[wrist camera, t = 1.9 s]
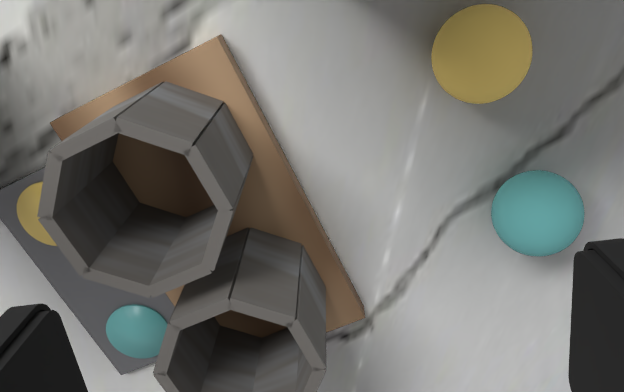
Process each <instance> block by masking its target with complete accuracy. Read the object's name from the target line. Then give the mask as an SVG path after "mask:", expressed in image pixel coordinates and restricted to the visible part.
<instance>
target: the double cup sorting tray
mask: <svg viewBox="0 0 624 392" xmlns="http://www.w3.org/2000/svg"><path fill="white" fill-rule="evenodd" d="M50 124H51V126H52V127H53V129H54V130H55V132H56V133H57V135H58V136H59V137H60V139H61V140H62V141H61V142H60V143H58V144H57V145H55V146H54V147H52V148H51V149H50V151H48V154H47V160H46V166H45V172H44V178H43V184H42V190H41V196H40V202H39V208H38V214H37V217H40V218H39V219H38V220H39V222H40V223H41V224H42V226H43V227H44V228H45V230H46V231H47V232H48V234H49V235H50V237H51V238H52V239H53V241H54V242H55V243H56V245H57V246H58V247H59V249H60V250H61V251H62V253H63V254H64V255H65V257H66V258H67V259H68V261H69V262H70V263H71V265H72V266H73V268H74V269H75V270H76V272H77V273H78V274H79V276H81V275H83V278H84V279H88V280H91V281H94V282H98V283H101V284H104V285H108V286H111V287H115V288H118V289H121V290H125V291H128V292H131V293H135V294H138V295H141V296H145V297H148V298H150V297H151V296H152V297H153V298H154V297H156V296H159V295H161V294H163V293H166V294H167V296H168V297H169V299H170V300H171V302H172V303H173V305H174V306H175V308H174V310H173V313H172V315H171V317H170V320H169V322H168V324H167V328H166V331H165V335H164V338H163V341H162V345H161V348H160V351H159V355H158V358H157V361H156V365H155V368H154V371H153V373H154V377H155V378H156V379H157V381H158V382H159V383H160V385H161V386H162V387H163V389H164V390H165V392H317V389H318V387H319V385H320V383H321V381H322V378H323V376H324V374H325V372H326V332H329V331H332V330H334V329H337V328H339V327H342V326H345V325H347V324H350V323H353V322H355V321H358V320H360V319H363V318H365V313H364V306H363V304H362V302H361V300H360V298H359V296H358V294H357V292H356V290H355V289H354V287H353V285H352V283H351V281H350V279H349V277H348V275H347V273H346V271H345V269H344V268H343V266H342V264H341V262H340V260H339V258H338V256H337V254H336V252H335V250H334V248H333V247H332V245H331V243H330V241H329V239H328V237H327V235H326V233H325V231H324V229H323V227H322V226H321V224H320V222H319V220H318V218H317V216H316V214H315V212H314V210H313V208H312V206H311V205H310V203H309V201H308V199H307V197H306V195H305V193H304V191H303V189H302V187H301V185H300V184H299V182H298V180H297V178H296V176H295V174H294V172H293V170H292V168H291V166H290V164H289V163H288V161H287V159H286V157H285V155H284V153H283V151H282V149H281V147H280V145H279V143H278V142H277V140H276V138H275V136H274V134H273V132H272V130H271V128H270V126H269V124H268V123H267V121H266V119H265V117H264V115H263V113H262V111H261V109H260V107H259V105H258V103H257V102H256V100H255V98H254V96H253V94H252V92H251V90H250V88H249V86H248V84H247V82H246V81H245V79H244V77H243V75H242V73H241V71H240V69H239V67H238V65H237V63H236V61H235V60H234V58H233V56H232V54H231V52H230V50H229V48H228V46H227V44H226V42H225V40H224V39H223V37H222V35H219V36H217V37H215V38H213V39H211V40H209V41H207V42H205V43H203V44H201V45H199V46H197V47H196V48H194V49H192V50H190V51H188V52H186V53H184V54H182V55H180V56H178V57H176V58H174V59H172V60H170V61H168V62H166V63H164V64H162V65H160V66H159V67H157V68H155V69H153V70H151V71H149V72H147V73H145V74H143V75H141V76H139V77H137V78H135V79H133V80H131V81H129V82H127V83H125V84H123V85H121V86H120V87H118V88H116V89H114V90H112V91H110V92H108V93H106V94H104V95H102V96H100V97H98V98H96V99H94V100H92V101H90V102H88V103H86V104H84V105H83V106H81V107H79V108H77V109H75V110H73V111H71V112H69V113H67V114H65V115H63V116H61V117H59V118H57V119H56V120H54V121H52V122H51V123H50Z"/></svg>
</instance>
